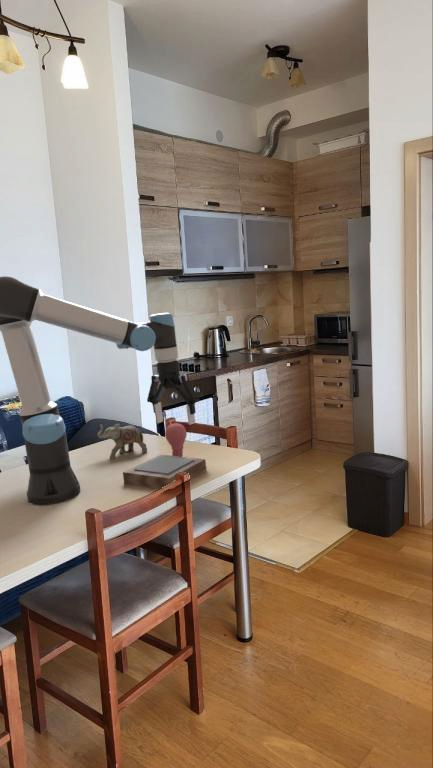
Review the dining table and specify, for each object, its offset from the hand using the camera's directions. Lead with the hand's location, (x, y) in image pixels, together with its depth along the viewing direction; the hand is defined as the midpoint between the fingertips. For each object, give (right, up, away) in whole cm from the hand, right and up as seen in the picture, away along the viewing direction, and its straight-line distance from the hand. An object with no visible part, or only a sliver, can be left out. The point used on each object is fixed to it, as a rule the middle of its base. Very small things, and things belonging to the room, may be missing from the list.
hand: (175, 423), depth 192 cm
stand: (-2, -15, -16) cm, 22 cm away
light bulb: (+1, -12, +2) cm, 12 cm away
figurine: (-19, -12, +13) cm, 26 cm away
